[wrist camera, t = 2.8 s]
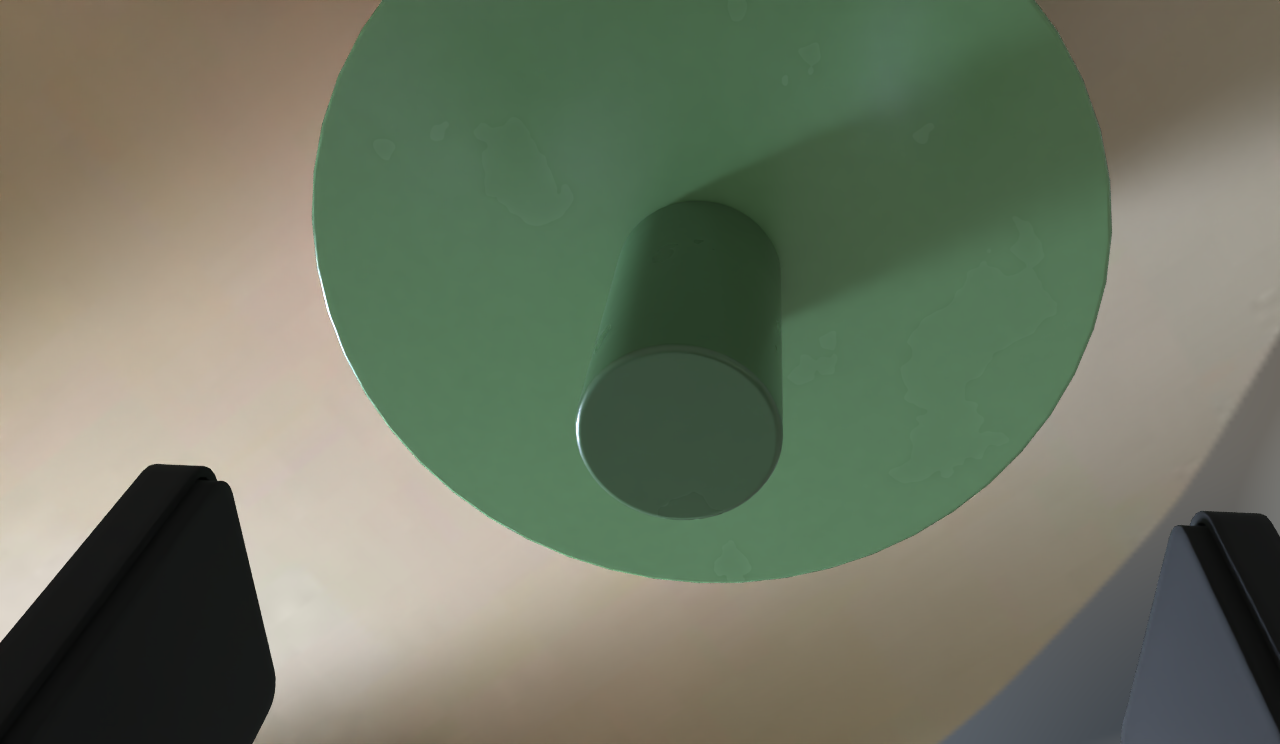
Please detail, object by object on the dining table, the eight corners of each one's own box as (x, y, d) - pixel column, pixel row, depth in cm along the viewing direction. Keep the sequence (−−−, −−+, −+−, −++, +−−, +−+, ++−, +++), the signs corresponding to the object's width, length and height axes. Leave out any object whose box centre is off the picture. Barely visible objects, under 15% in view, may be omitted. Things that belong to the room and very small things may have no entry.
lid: (385, 531, 24) (275, 765, 18) (275, -159, 17) (62, -98, 12) (1034, 558, 22) (1113, 817, 17) (1165, -172, 16) (1350, -110, 11)
